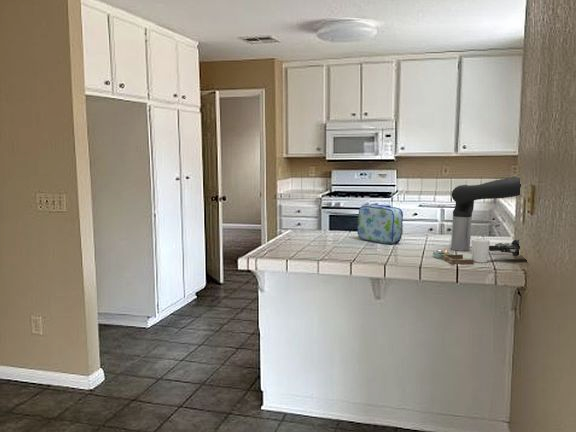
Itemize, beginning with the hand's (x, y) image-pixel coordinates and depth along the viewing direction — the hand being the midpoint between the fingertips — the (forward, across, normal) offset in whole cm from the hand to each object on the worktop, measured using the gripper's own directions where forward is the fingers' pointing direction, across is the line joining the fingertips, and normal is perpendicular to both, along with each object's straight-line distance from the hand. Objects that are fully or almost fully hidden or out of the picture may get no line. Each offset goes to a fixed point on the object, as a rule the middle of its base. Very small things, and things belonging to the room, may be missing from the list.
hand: (489, 248), depth 240 cm
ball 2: (+17, -8, +4) cm, 19 cm away
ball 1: (+20, -10, +4) cm, 22 cm away
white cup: (+4, 0, +6) cm, 8 cm away
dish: (+18, -9, +6) cm, 21 cm away
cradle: (+14, 0, +6) cm, 16 cm away
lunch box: (+35, -54, +6) cm, 65 cm away
